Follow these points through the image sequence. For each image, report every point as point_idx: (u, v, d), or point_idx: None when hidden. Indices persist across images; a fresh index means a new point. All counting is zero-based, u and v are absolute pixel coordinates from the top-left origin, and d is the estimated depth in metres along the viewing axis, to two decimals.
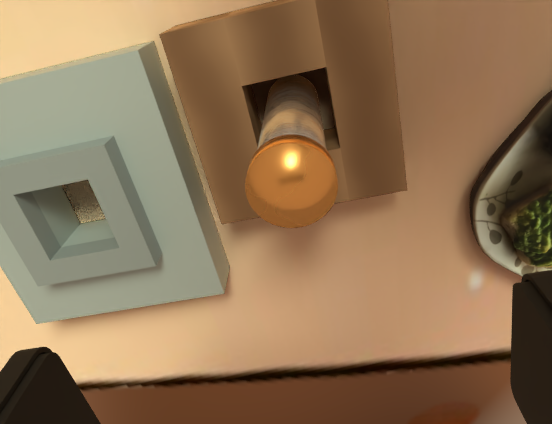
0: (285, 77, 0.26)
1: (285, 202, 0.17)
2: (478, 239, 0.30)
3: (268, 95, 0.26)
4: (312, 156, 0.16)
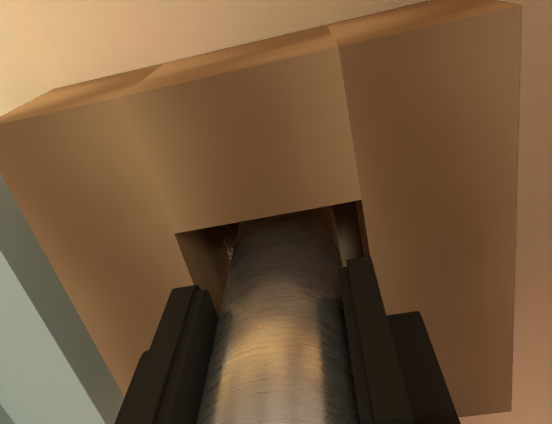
0: None
1: None
2: None
3: (239, 223, 0.13)
4: None
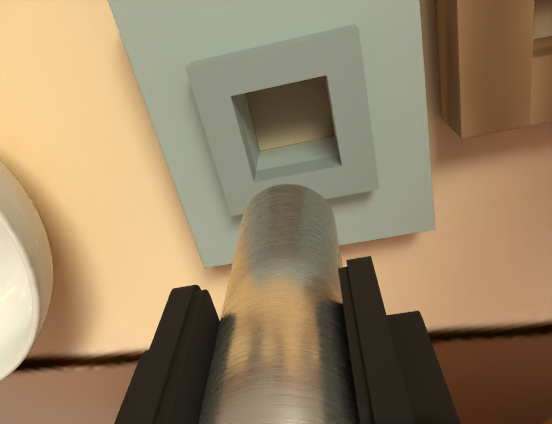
0: (274, 191, 0.14)
1: None
2: None
3: (240, 227, 0.13)
4: None
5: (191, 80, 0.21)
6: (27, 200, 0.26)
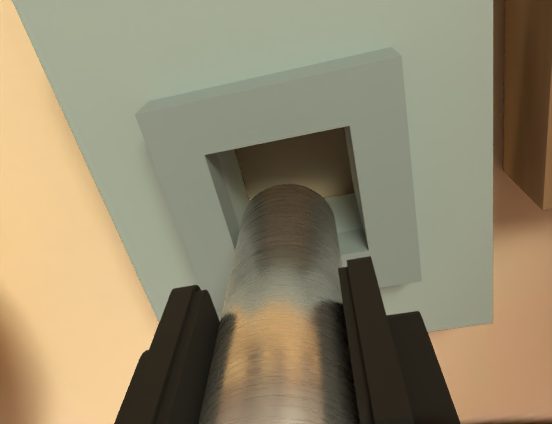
0: (274, 191, 0.14)
1: None
2: None
3: (240, 228, 0.13)
4: None
5: (144, 132, 0.14)
6: None
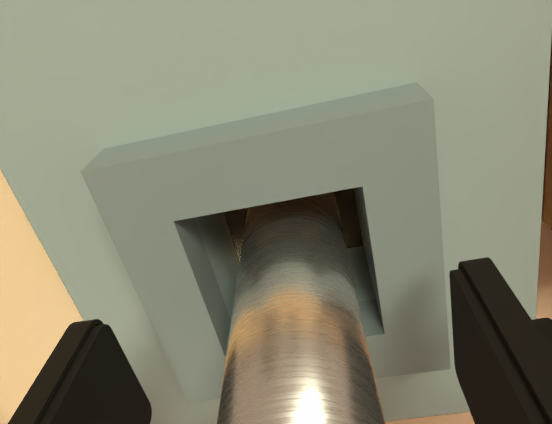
0: None
1: None
2: None
3: None
4: None
5: (94, 193, 0.11)
6: None
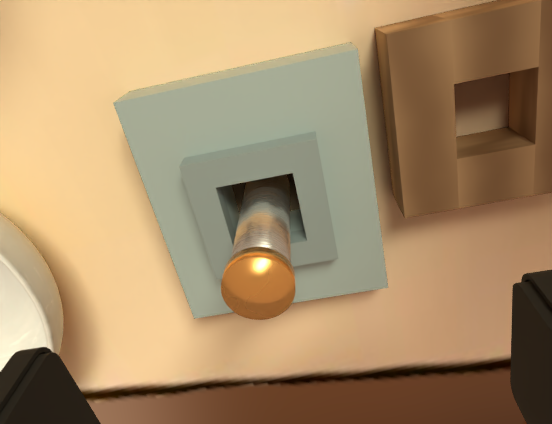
0: None
1: (253, 300, 0.21)
2: None
3: (246, 183, 0.30)
4: (274, 267, 0.20)
5: (183, 175, 0.26)
6: (44, 265, 0.30)
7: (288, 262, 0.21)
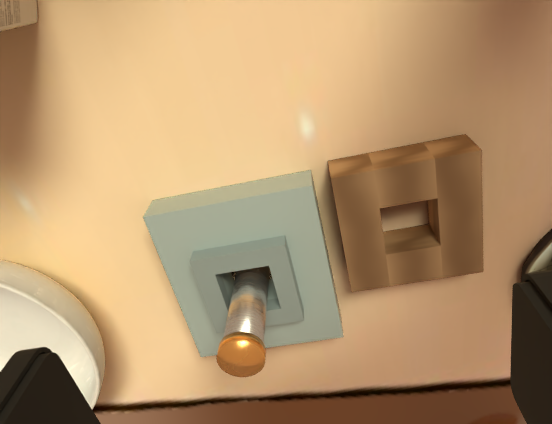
0: None
1: (238, 365, 0.32)
2: None
3: None
4: (250, 346, 0.31)
5: (192, 267, 0.38)
6: (92, 321, 0.42)
7: (260, 341, 0.32)
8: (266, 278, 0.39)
